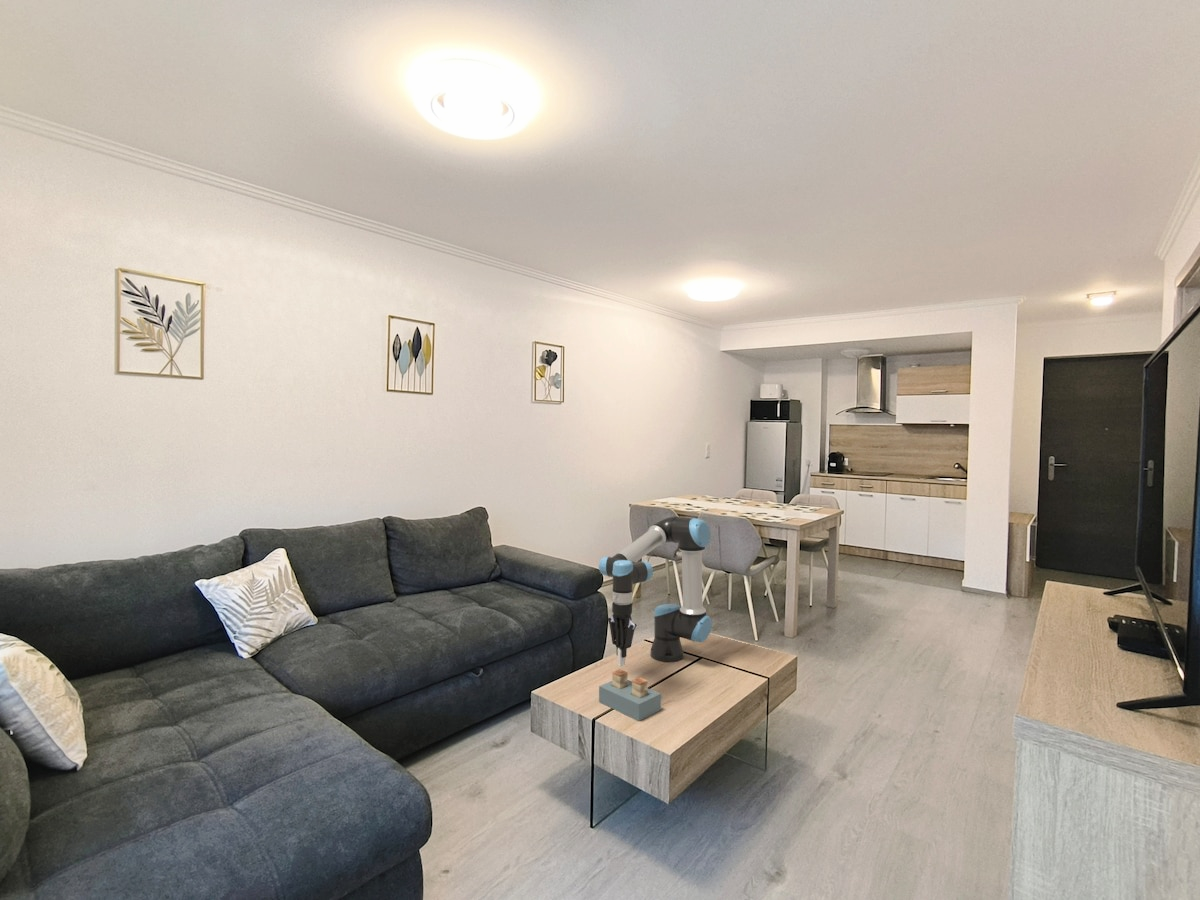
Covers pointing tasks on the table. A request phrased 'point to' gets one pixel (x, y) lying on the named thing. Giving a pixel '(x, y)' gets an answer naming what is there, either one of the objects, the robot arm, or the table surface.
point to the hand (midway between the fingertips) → (621, 665)
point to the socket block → (630, 701)
